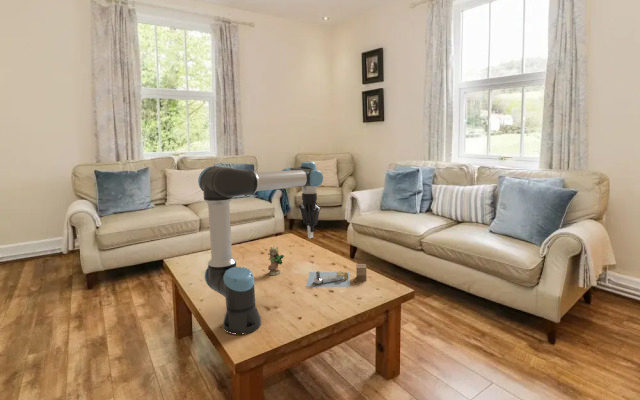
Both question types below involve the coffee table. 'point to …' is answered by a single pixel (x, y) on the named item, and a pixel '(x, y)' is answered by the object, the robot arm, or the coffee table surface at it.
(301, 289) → the coffee table surface
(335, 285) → the board
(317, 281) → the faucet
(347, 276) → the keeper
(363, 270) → the block
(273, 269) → the figurine
